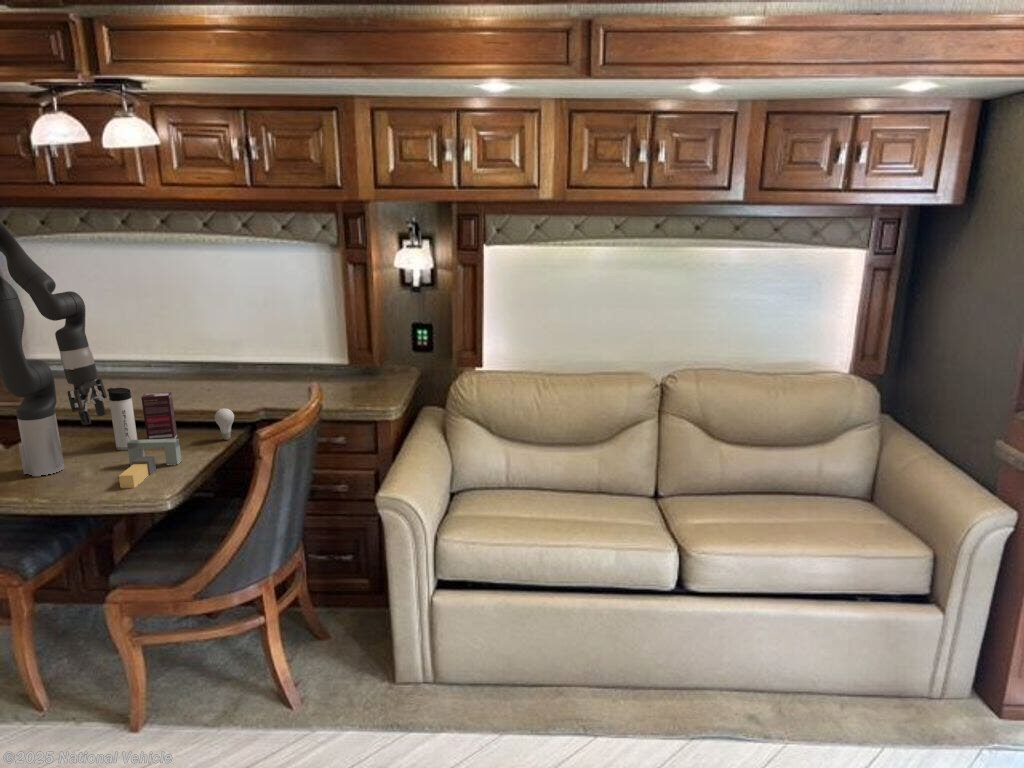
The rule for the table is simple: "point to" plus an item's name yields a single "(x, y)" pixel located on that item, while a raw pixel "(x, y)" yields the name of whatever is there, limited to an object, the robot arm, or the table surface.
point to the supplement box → (159, 415)
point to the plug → (137, 472)
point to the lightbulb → (224, 422)
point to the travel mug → (122, 417)
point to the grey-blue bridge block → (170, 447)
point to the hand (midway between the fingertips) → (94, 419)
